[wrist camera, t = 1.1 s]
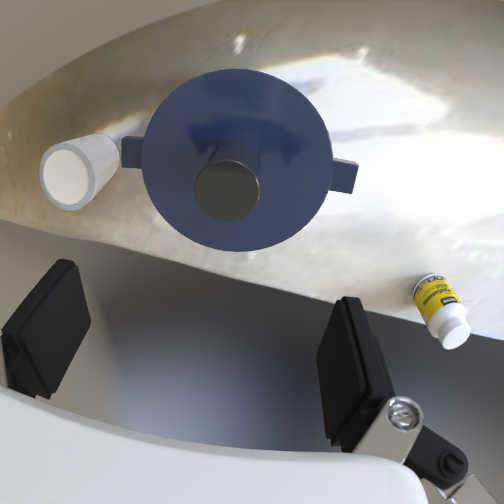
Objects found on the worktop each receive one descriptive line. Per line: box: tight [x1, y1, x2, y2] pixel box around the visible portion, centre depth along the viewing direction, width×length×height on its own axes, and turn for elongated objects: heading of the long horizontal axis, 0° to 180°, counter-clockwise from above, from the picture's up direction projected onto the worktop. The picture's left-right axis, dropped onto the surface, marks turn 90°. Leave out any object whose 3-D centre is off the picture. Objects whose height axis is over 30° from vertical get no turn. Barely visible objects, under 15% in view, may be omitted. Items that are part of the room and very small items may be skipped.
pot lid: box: [141, 69, 333, 252], centre depth 20 cm, size 14×14×6 cm
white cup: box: [39, 133, 120, 211], centre depth 28 cm, size 7×7×7 cm
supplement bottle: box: [413, 274, 470, 349], centre depth 34 cm, size 5×5×10 cm
